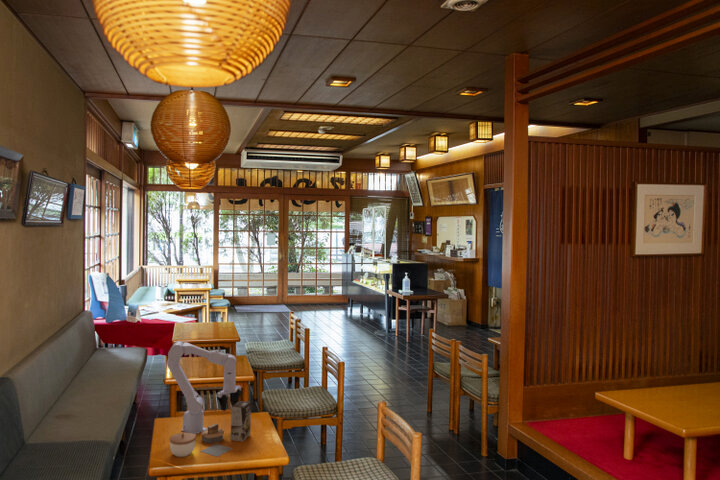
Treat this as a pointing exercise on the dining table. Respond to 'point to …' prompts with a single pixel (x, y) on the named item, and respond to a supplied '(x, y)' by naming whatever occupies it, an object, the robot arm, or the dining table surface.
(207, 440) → the bowl
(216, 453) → the mat
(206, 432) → the lid
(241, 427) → the coffee box
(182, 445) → the lidded jar
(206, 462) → the dining table surface
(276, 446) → the dining table surface
